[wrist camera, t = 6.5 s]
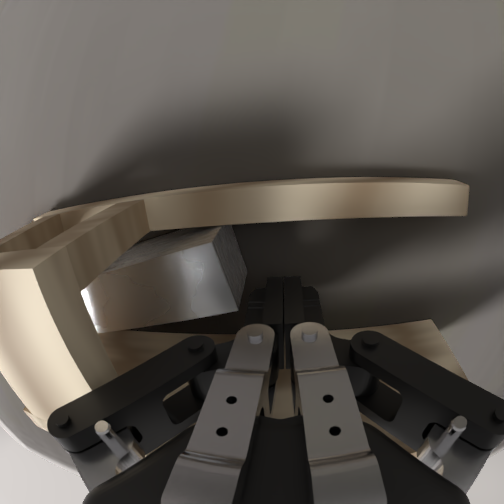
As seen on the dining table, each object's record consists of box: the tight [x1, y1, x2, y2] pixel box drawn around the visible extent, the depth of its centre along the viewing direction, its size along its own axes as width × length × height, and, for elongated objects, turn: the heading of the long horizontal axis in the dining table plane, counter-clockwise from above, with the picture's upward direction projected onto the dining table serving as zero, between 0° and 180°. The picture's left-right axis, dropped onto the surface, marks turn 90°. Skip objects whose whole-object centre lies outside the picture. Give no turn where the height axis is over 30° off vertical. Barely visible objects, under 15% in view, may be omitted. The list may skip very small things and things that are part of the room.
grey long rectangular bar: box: [81, 225, 247, 333], centre depth 14 cm, size 12×3×4 cm, turn 107°
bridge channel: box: [0, 177, 469, 458], centre depth 11 cm, size 23×10×8 cm, turn 96°
